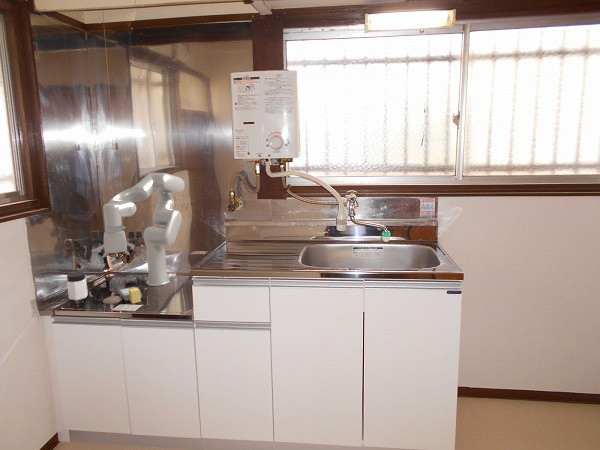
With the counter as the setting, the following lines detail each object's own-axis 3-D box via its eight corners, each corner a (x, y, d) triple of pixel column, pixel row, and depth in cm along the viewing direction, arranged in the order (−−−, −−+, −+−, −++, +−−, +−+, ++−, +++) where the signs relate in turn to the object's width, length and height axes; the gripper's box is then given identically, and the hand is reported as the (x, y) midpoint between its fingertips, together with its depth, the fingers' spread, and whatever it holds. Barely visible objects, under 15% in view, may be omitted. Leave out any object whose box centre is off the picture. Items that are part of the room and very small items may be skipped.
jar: (91, 295, 228) (89, 272, 226) (79, 300, 220) (76, 277, 218) (77, 293, 231) (75, 271, 228) (65, 299, 223) (62, 276, 221)
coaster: (120, 296, 226) (119, 294, 226) (124, 301, 219) (124, 300, 218) (101, 300, 221) (101, 298, 221) (105, 305, 214) (104, 304, 213)
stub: (138, 298, 222) (136, 286, 221) (140, 301, 218) (139, 289, 217) (129, 300, 220) (128, 288, 219) (132, 303, 216) (131, 291, 215)
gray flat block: (135, 290, 233) (135, 286, 233) (141, 297, 224) (141, 292, 223) (119, 294, 229) (119, 289, 228) (125, 301, 219) (124, 296, 219)
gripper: (133, 226, 219) (136, 259, 222) (94, 229, 213) (98, 263, 216) (133, 229, 212) (136, 263, 215) (93, 232, 206) (97, 267, 209)
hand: (117, 263), depth 216 cm, fingers open, 9 cm apart
